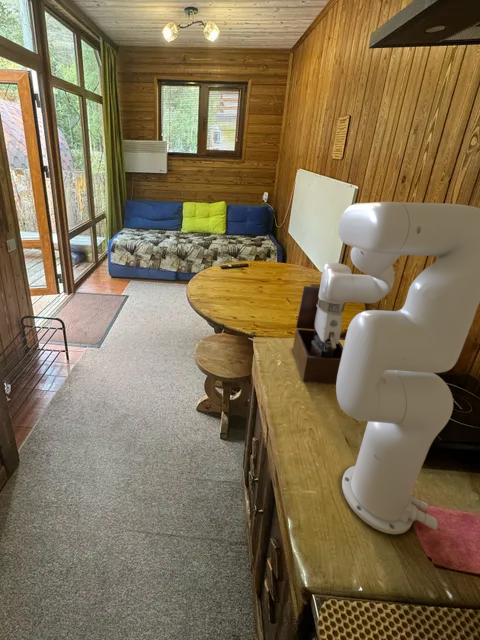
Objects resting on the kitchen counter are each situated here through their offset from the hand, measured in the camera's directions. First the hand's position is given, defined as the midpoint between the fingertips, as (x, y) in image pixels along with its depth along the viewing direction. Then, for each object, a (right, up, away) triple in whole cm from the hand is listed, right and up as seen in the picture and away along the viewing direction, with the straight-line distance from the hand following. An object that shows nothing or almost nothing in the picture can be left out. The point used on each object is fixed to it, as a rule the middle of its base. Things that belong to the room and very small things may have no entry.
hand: (321, 352), depth 98 cm
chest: (0, -5, +3) cm, 6 cm away
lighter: (0, -5, +2) cm, 5 cm away
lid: (+1, +13, +4) cm, 14 cm away
